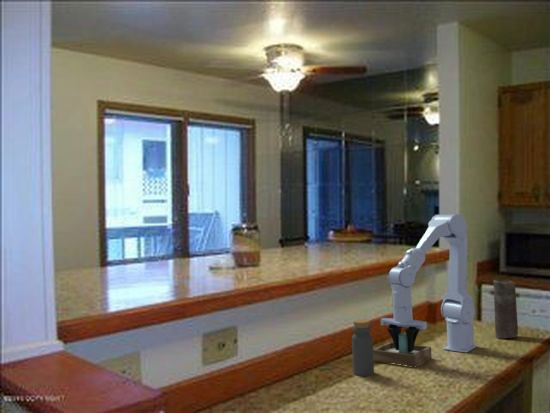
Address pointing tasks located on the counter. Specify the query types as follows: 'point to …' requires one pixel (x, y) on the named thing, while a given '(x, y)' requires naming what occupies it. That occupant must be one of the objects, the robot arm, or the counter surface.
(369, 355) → the bottle
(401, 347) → the peg
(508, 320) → the candle
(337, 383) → the counter surface
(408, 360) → the box
